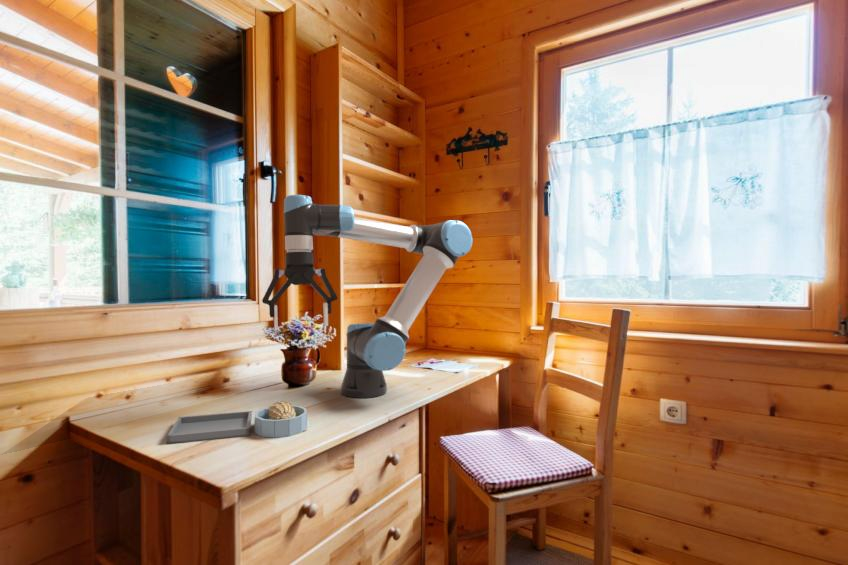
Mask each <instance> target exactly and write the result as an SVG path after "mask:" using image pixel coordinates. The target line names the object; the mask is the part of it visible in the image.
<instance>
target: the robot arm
mask: <svg viewBox="0 0 848 565" xmlns="http://www.w3.org/2000/svg"><path fill="white" fill-rule="evenodd" d="M312 200H313V199H312V197H311V196H309V195H303V194H289V195H287V196H286V197H285V198H284V199H283V212H282V214H283V223H284V249H285V251H287V252H286V253H285V256H284V257H285V260H284V261H285V269H284V270H283V269H278V268H277V269H274V270H273V277H272V279H271V281H270V283H269V285H268V288H267V290H266V291H265V294H264V296H263V298H262V300H261V302H262V303H263V304H265V305H268V308H269V316H270V318H273V327H274V330H279V324H278V323H279V321H278V320H279V318H278V314H279V313H278V305H277V304H276V303H277V302H278V300H280V298H281V297H282V295H283V294H284V293H285V292H286V291H287V290H288V288H289V287H290V286H291V285H294V286H299V285H304V286H305V285H308V284H309V285H310V286H311V287H312V288H313V289H314V290H315V291H316V293H317V294H319V296H320V297H322V299H323V300H324V301H325V302H322V303H323V304H322V308H323V309H322V310H323V311H322V312H323V326H324V327H328V326H329V315H330V314H332V303H333V302H335V301H337V300H338V299H339V298H338V295H337V294H336V292H335V290H334V288H333V287H332V284H331V283H330V281H329V279H328V277H327V274H326V273H327V272H326V269H325V268H324V267H322V268H319V269H317V268H316V269H315V267H314V253H313V252H312V251H314V244H313V243H314V241H313V240H314V239H313V238H314V237H313V236H314V235H315V236H320V237H323V236H328V237H333V238H334V237H336V238H340V239H341V238H342V239H346V240H347V239H348V240H354V241H358V242H359V241H360V242H365V243H366V242H367V243H372V244H376V245H377V244H378V245H383V246H384V245H385V246H389V247H390V246H391V247H396V248H402V249H405V250H406V252H408V253H414V254H418V255H423V256H422V258H421V259H420V261H419V262H418V263H417V265H416V267H415V268H414V269H413V271H412V273H411V275H410V276H409V277H408V279H407V281H406V282H405V283H404V285H403V287H402V288H401V290H400V292H399V293H398V294H397V296H396V298H395V299H394V301H393V303H392V304H391V306H390V307H389V309H388V310H387V312H386V314H385V315H384V316H381V317H377V318H376V320H375V322H367V323H366V322H365V323H350V324H349V325H348V326H347V329H346V330H347V331H346V371H345V372H344V376H343V380H342V383H341V386H340V393H341V395H343V396H345V397H349V398H359V399H365V398H375V397H380V396H383V395H385V394H386V393H387V391H388V387H387V382H386V379H385V375H384V372H386V371H387V372H388V371H391V370H394V369H395V368H397V367H398V366H399V365H400V364H401V363H402V362H403V360H404V359H405V356H406V352H407V351H406V344H407V342H408V341H409V339H410V335H409V330H410V328H411V327H412V325H413V323H414V322H415V320H416V318H417V317H418V315H419V314H420V312H421V310H422V309H423V307H424V305H425V304H426V302H427V300H429V298H430V296H431V294H432V293H433V292H434V290H435V288H436V287H437V284H438V283H439V282H440V279H442V276H443V275H444V273H445V272H446V270H447V269H452V268H453V267H454V266H455V264H456V263H457V262H458V259H459V258H460V257H464V256H466V255H467V254H468V253H469V252H470V251H471V249H472V246H473V241H474V240H473V239H474V238H473V236H472V231H471V230H470V228H469V227H468V225H467V224H466V223H464V222H463V221H461V220H455V219H454V220H453V219H452V220H451V219H449V220H446V221H443V222H438V223H434V224H427V225H426V224H425V225H417V224H411V225H409V226H406V225H401V224H397V223H391V222H386V221H379V220H375V219H371V218H370V219H369V218H363V217H359V216H355V211H354V209H353V207H352V206H349V205H343V204H340V205H339V204H320V203H319V204H318V203H313V201H312ZM316 274H317V276H318V277H320V279H321V281H322V282H323V285H324V286H325V289H326V290H327V291H328V293H329V295H328V294H327V293H326V292H325V291H324V290H323V289H322V288H321V287H320V286H319V284H318V283H317V282H316V281H315V280H314V279H313V278H314V276H315V275H316ZM283 275H284V276H285V277H286V278H287V280H286V281H285V282H284V284H283V285H281V287H280V288H279V290H278V291H277V292H276V293H275V294H274V296H273V297H272V298H271V299H270V297H271V294H272V293H273V291H274V289H275V286H276V285H277V282H278V281H279V278H281V277H282V276H283Z"/></svg>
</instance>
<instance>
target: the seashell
mask: <svg viewBox="0 0 848 565" xmlns="http://www.w3.org/2000/svg"><path fill="white" fill-rule="evenodd" d="M268 416H269V419H270V420H280V419H289V418H293V417H296V413H295V409H294V408H293V407H292V404H291V403H290V402H287V401H283V400H282V401H280V400H279V401H277V402H274V403H273V404H272V405H270V408H269V414H268Z"/></svg>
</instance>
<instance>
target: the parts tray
mask: <svg viewBox="0 0 848 565" xmlns="http://www.w3.org/2000/svg"><path fill="white" fill-rule="evenodd" d="M252 412H253V410H246V411H236V412H234V411H233V412H224V413H215V414H214V413H211V414H202V415H201V414H200V415H198V414H197V415H189V416H178V418H177V420H176V421H175V422H174V424H173V426H172V427H171V428H170V431H169V432H168V433H167V435H166V445H168V444H170V445H172V444H179V443H190V442H201V441H208V440H209V441H210V440H220V439H230V438H239V437H240V438H242V437H248V436H250V435H251V425H252V418H253V417H252V416H253V415H252V414H253V413H252Z"/></svg>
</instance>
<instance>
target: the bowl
mask: <svg viewBox="0 0 848 565" xmlns="http://www.w3.org/2000/svg"><path fill="white" fill-rule="evenodd" d="M291 405H292V404H291ZM292 407H293V408H294V409H295V413H296V417H293V418H289V419H280V420H270V419H269V416H268V414H269V408H270V407H265V408H261V409H260V410H258V411H255V413H254V435H255V434H256V435H257V436H260V437H262V438H263V437H264V438H284V437H291V436H294V435H297V434H300V433H303V432H304V431H305V430H307V429H308V410H307V408H306V407H304V406H300V405H292Z"/></svg>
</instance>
